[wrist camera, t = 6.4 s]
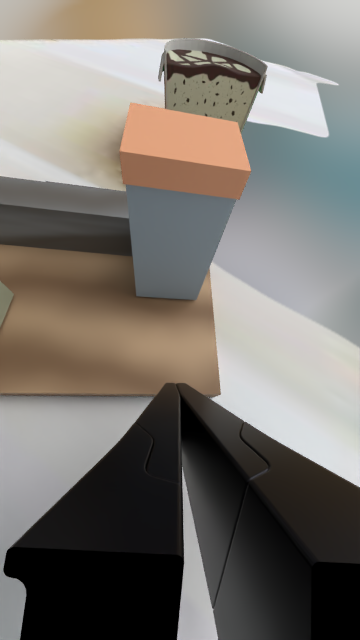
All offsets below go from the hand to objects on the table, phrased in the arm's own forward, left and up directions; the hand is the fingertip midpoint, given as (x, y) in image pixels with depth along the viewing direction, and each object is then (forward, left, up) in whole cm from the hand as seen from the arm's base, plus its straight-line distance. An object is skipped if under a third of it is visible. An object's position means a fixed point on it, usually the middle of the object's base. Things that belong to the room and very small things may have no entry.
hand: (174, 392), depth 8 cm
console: (+6, +9, -8) cm, 13 cm away
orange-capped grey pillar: (+10, +3, -6) cm, 12 cm away
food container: (+35, +6, -8) cm, 36 cm away
